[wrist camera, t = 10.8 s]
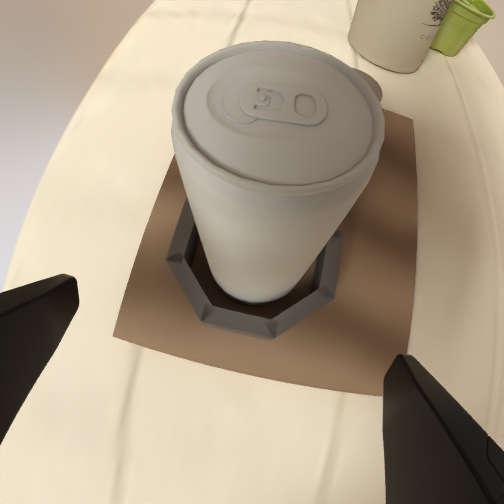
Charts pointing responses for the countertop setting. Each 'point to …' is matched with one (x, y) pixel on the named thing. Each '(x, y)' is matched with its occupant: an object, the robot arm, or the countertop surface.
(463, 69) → the countertop surface
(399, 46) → the travel mug
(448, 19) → the plant pot
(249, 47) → the beverage can
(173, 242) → the pin board
